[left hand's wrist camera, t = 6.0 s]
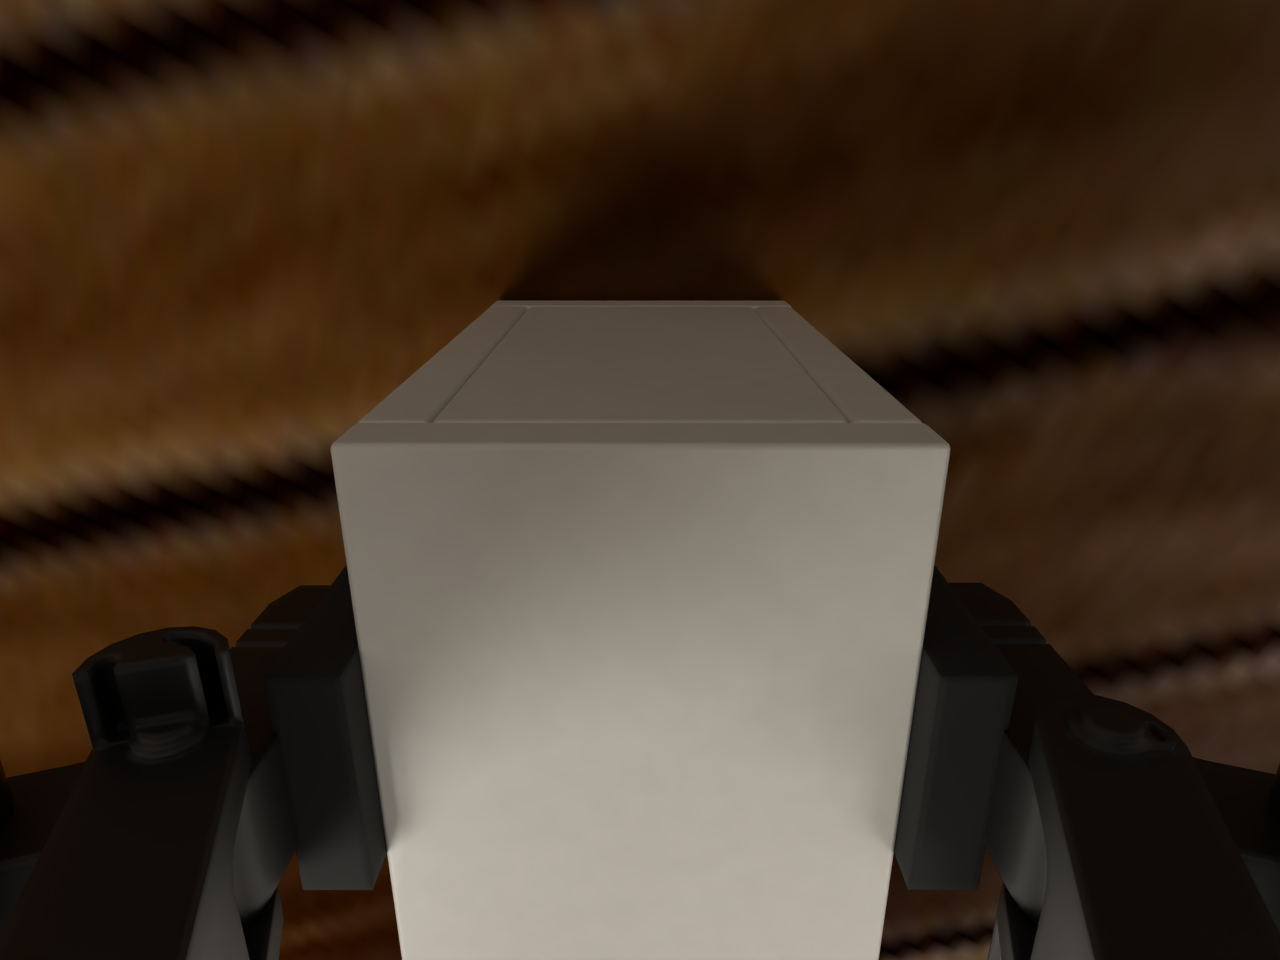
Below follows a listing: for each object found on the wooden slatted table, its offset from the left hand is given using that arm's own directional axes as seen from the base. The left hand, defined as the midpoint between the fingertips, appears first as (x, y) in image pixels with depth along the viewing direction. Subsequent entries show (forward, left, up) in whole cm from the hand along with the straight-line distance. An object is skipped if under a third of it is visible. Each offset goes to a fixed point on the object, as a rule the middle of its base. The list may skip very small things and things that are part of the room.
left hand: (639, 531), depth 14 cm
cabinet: (+2, +7, -3) cm, 8 cm away
